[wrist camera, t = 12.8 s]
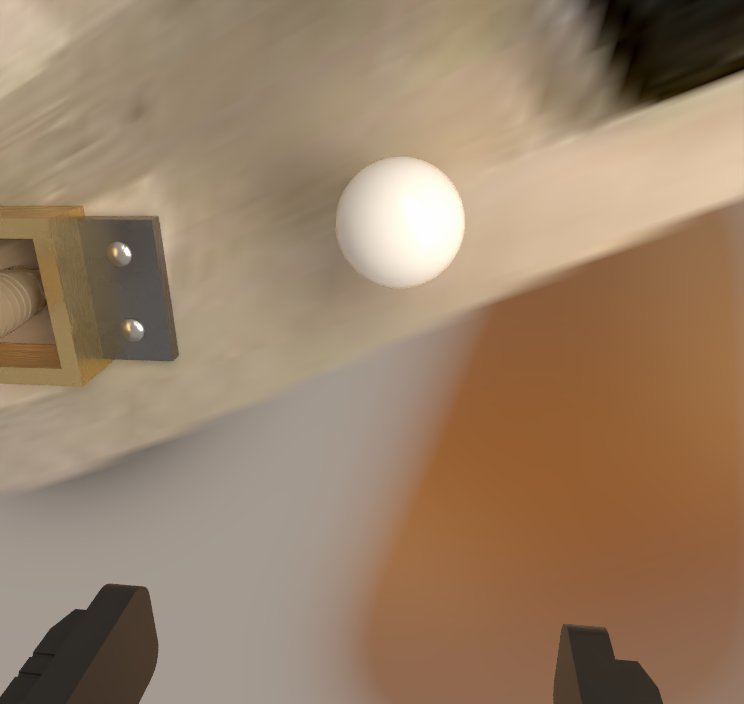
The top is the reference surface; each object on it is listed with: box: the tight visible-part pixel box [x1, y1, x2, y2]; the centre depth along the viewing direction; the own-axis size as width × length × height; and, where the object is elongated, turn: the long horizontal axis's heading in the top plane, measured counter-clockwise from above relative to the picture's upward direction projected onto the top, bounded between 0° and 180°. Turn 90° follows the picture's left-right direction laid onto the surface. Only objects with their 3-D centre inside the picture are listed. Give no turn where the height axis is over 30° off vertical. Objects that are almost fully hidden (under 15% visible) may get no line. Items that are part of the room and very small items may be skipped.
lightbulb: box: [335, 156, 465, 289], centre depth 34 cm, size 6×6×11 cm
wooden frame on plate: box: [0, 206, 179, 386], centre depth 43 cm, size 11×20×4 cm, turn 91°
